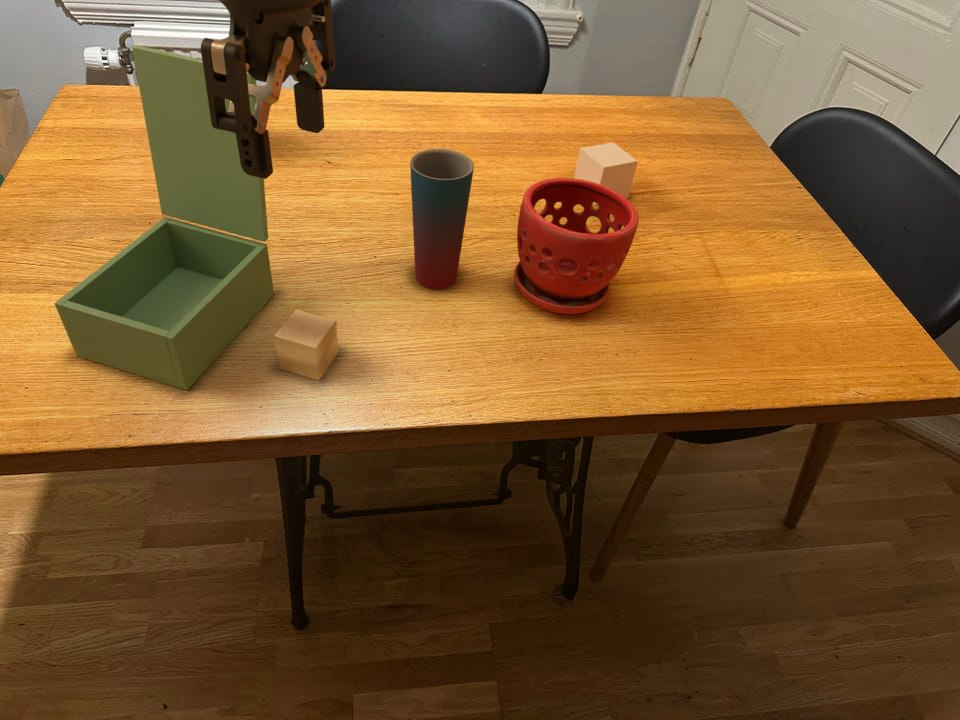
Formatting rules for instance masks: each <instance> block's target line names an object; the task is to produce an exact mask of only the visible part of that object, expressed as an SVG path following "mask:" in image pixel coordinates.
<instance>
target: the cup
mask: <svg viewBox="0 0 960 720" xmlns="http://www.w3.org/2000/svg"><path fill="white" fill-rule="evenodd" d="M409 169H410V187H411V188H410V191H411V215H412V233H413V234H412V235H413V236H412V237H413V256H414V258H413V259H414V277H415V281H416V282H417V283H418V284H419V285H421V287H424V288H426V289H428V290H429V289H430V290H445V289H448V288H451V287H452V286H453V285H455V283H456V282H457V278H458V272H459V271H458V270H459V265H460V258H461V253H462V247H463V241H464V240H463V239H464V233H465V229H466V228H465V226H466V219H467V214H468V207H469V201H470V196H471V195H470V194H471V190H472V183H473V176H474V170H475V166H474V163H473V161H472V159H471V158H470V157H469V156H467V155H465V154H463V153H462V152H459V151H455V150H451V149H445V148H444V149H443V148H431V149H426V150H422V151H420V152H417V153H416V154H414V155H413V156H412V157H411V159H410V163H409Z"/></svg>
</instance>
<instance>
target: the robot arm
mask: <svg viewBox="0 0 960 720" xmlns="http://www.w3.org/2000/svg"><path fill="white" fill-rule="evenodd" d="M218 1H219V2H220V3H221V4H222V5H223V6H224V7H225V9H227V12H228V13H229V30H228V36H227V37H225V38H223V39H214V38H208V37H204V38H203V39H202V40H201V43H200V53H201V59H202V62H203V69H204V76H205V82H206V89H207V96H208V103H209V110H210V117H211V124H212V126H213V128H215V129H219V130H225V131H229V132H233V133H235V134H236V139H237V145H238V151H239V157H240V163H241V167H242V169H243V171H244V172H245V173H246V174H248V175H251V176H255V177H259V178H263V179H264V180H266V179H268V178H269V177H271V175H273V174H274V167H273V159H272V149H271V143H270V134H269V130H268V129H267V125H268V121H269V117H270V113H271V107H272V105H274V104H276V103H277V102H278V101H279V100H280V95H281V91H282V87H283V83H285V82H286V81H287V79H288V78H290V76H291V78H292V80H293V81H295V82H296V83H295V84H293V96H294V105H295V106H294V107H295V116H296V125H297V127H298V128H299V129H300V130H301V131H305V132H310V133H314V134H319V133H320V132H321V131H323V130H324V129H325V113H324V112H325V111H324V98H323V88H324V87H325V85H326V83H327V72H334V71H335V69H336V66H337V65H336V64H337V60H336V59H337V58H336V48H335V34H334V21H333V8H332V0H218ZM315 41H316V42H320V44H321V45H322V46H321V47H322V52H320V50H319V49H318V47H317V45H316V43H315ZM247 71H248V73H249V74H250V76H251V77H252V78H254V79H255V80H256V82H261V83H264V84H263V85H254V84H249V83H248V82H247ZM249 98H254V99H257V101H256V106H255V110H254V115H253V114H251V110H250V101H249ZM225 99H228V100H231V101H230V106H229V111H228V112H226V107H225Z"/></svg>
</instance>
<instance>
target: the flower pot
mask: <svg viewBox="0 0 960 720" xmlns="http://www.w3.org/2000/svg"><path fill="white" fill-rule="evenodd" d="M542 200H544V201H545V206H544V208H543V209H542V210H541V211H540V212H538V211H537V210H536V209H535V207H536V205H537V203H538V202H539V201H542ZM593 202H595V203H597V204H598V205H597V206H598V207H597V208H594V207H593ZM557 203H561V205H560V206H559V207H558V208H556V207H555V205H556V204H557ZM578 205H579V206H581V207H582V208H583V210H582V211H581V212H576V211H575V210H574V208H575V206H578ZM611 215H612V216H613V220H611V218H610V216H611ZM547 216H551V217H552V218H551V221H549V220H547V219H545V218H546V217H547ZM590 217H595V218H597V219H598V220H599V222H600V228H599V230H598V231H597V232H594V231H593V232H592V230H590V229H589V227H588V226H587V221H588V219H589V218H590ZM562 218H566V222H565V223H563V224H562V223H561V222H560V221H561V219H562ZM639 220H640V219H639V213H638V211H637V209H636V207H635V206H634V205H633V204H632V203H631V201H630V200H629V199H628V198H627V199H626V198H625V197H624V196H622V195H621V194H619V193H618V192H616V191H614V190H612V189H610V188H608V187H605V186H603V185H600V184H597V183H594V182H590V181H586V180H581V179H574V178H570V177H555V178H554V177H553V178H548V179H543V180H540V181H537V182H535V183H533V184H532V185H530V186H529V187H528V188H527V189H526V190H525V192H524V194H523V197H522V200H521V204H520V209H519V213H518V220H517V230H516V231H517V232H516V233H517V235H516V241H517V244H516V245H517V253H518V254H517V255H518V258H519V261H518V262H517V264H516V265H515V268H514V272H513V277H514V278H513V279H514V283H515V285H516V288H517V289H518V290H519V292H520V293H521V295H523V296H524V297H525V298H526V299H527V300H528V301H529V302H530V303H532V304H534V305H535V306H537V307H539V308H541V309H544V310H546V311H549V312H552V313H556V314H557V313H558V314H565V315H566V314H567V315H574V314H582V313H586V312H589V311H591V310H594V309H596V308H598V307H599V306H600V305H602V304H603V303H604V301H605V300H606V299H607V298H608V296H609V294H610V291H611V284H610V283H611V282H612V280H613V279H614V278H615V277H616V275H617V274H618V273H619V271H620V269H621V267H622V266H623V264H624V262H625V260H626V258H627V256H628V255H629V254H628V253H629V251H630V249H631V247H632V244H633V242H634V239H635V235H636V232H637V229H638V226H639ZM622 227H623V228H622ZM610 228H611V229H612V230H613V232H612V231H611V232H609V230H610Z"/></svg>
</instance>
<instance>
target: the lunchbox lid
mask: <svg viewBox="0 0 960 720" xmlns="http://www.w3.org/2000/svg"><path fill="white" fill-rule="evenodd" d="M131 49H132V54H133V61H134V66H135V71H136V77H137V82H138V89H139V94H140V100H141V106H142V110H143V116H144V122H145V128H146V135H147V139H148V144H149V151H150V156H151V162H152V167H153V168H152V169H153V173H154V178H155V184H156V190H157V196H158V201H159V207H160V212H161V215H163V216H165V217H169V218H172V219H176V220H180V221H184V222H187V223H191V224H195V225H199V226H202V227H203V226H204V227H206V228H210V229H215V230H217V231H221V232H225V233H228V234H232V235H236V236H240V237H243V238H247V239H251V240H255V241H258V242H262V243H265V242H267V241H268V240H269V228H268V216H267V202H266V188H265V179H263V178H259V177H255V176H251V175H248V174H246V173H245V172H244V171H243V169H242V167H241V163H240V157H239V151H238V145H237V139H236V134H235V133H233V132H229V131H225V130H219V129H215V128H213V126H212V124H211V117H210V110H209V103H208V96H207V89H206V82H205V76H204V69H203V62H202V58H199V57H192V56H187V55H182V54H178V53H174V52H169V51H165V50H162V49H161V50H160V49H157V48H153V47H152V48H151V47H147V46H143V45H140V44H139V45H138V44H137V45H133V46H132V48H131ZM247 82H248V83H249V84H254V85H257V84H258V83H257V80H255V79H254V78H252V77H251V76H250V74H249V73H248V71H247ZM230 101H231V100H228V99H225V107H226V112H228V111H229V106H230ZM249 101H250V110H251V114H253V115H254V110H255V106H256V101H257V99H254V98H249Z"/></svg>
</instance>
